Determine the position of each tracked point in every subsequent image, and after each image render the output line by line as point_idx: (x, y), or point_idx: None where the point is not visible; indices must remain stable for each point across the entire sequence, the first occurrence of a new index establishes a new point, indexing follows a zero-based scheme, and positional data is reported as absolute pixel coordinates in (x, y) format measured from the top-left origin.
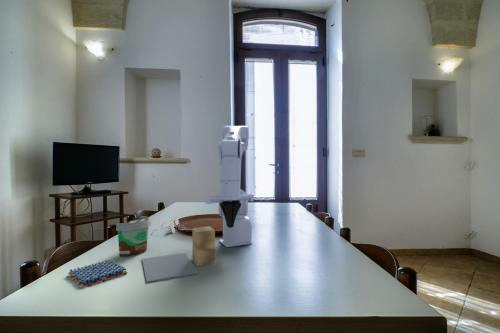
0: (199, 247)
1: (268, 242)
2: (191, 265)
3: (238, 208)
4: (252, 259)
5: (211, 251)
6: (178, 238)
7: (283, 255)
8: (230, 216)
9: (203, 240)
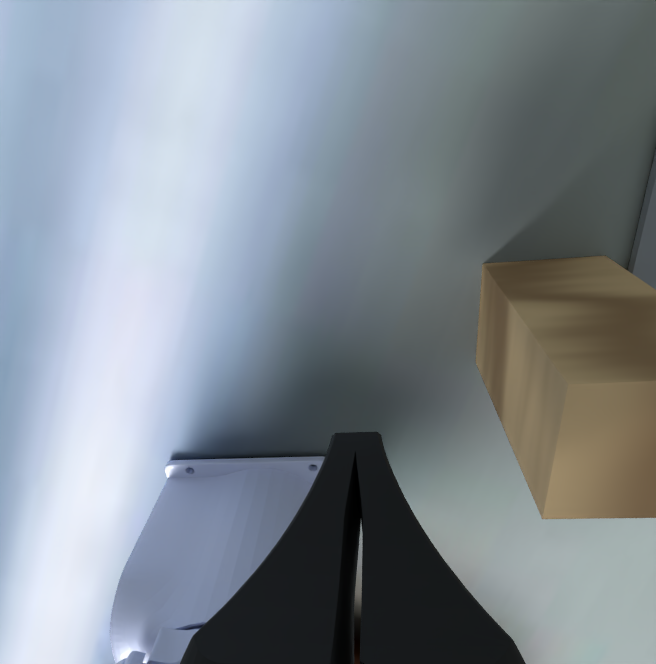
0: (652, 305)
1: (68, 454)
2: (654, 245)
3: (246, 605)
4: (233, 230)
5: (531, 291)
6: (519, 636)
7: (11, 225)
8: (377, 516)
9: (648, 331)
